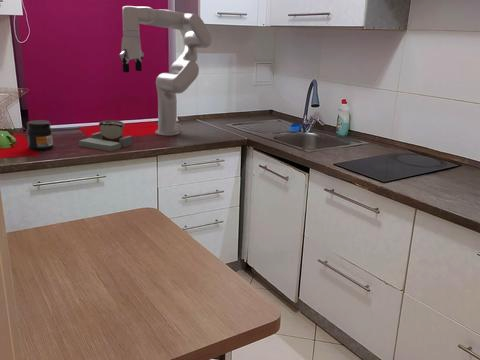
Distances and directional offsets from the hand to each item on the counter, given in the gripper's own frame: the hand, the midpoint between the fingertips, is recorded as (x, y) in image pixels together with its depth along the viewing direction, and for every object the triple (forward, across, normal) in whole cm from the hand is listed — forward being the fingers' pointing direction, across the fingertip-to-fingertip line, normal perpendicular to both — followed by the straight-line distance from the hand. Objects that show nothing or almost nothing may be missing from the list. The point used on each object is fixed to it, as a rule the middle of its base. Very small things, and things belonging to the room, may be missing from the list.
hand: (132, 71), depth 227 cm
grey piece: (+33, +18, -4) cm, 38 cm away
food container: (+33, +11, -4) cm, 35 cm away
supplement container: (+34, +37, -24) cm, 55 cm away
